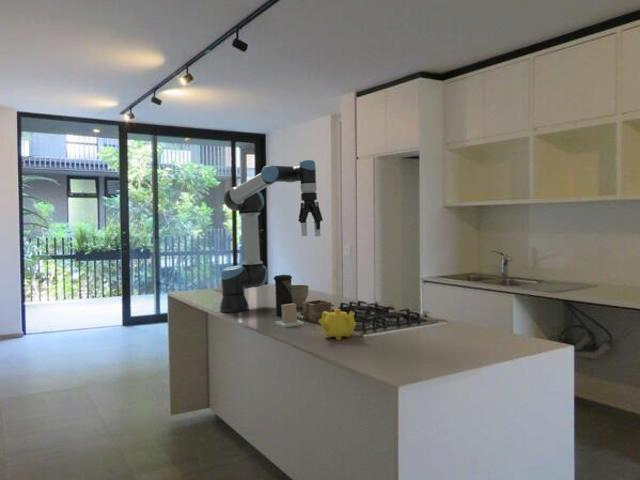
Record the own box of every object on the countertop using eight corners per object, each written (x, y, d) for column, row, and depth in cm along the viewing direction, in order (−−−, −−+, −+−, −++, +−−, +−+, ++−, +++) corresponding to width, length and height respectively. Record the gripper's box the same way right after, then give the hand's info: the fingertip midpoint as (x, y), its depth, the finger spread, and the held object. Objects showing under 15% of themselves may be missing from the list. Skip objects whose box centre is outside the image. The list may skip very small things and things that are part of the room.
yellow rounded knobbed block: (339, 329, 225) (338, 303, 225) (371, 334, 213) (370, 307, 212) (304, 338, 211) (303, 311, 211) (337, 345, 199) (335, 315, 198)
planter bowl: (296, 303, 297) (295, 283, 297) (315, 306, 286) (314, 285, 285) (273, 307, 287) (272, 287, 286) (292, 310, 275) (291, 289, 274)
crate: (303, 319, 251) (302, 302, 251) (321, 316, 256) (320, 299, 256) (313, 322, 243) (312, 304, 242) (332, 319, 248) (331, 302, 247)
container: (293, 316, 260) (291, 275, 259) (274, 316, 260) (272, 276, 259) (294, 312, 269) (292, 273, 268) (276, 313, 269) (274, 274, 268)
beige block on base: (275, 324, 244) (274, 304, 243) (295, 321, 248) (294, 301, 248) (283, 327, 235) (282, 307, 234) (304, 324, 239) (303, 304, 239)
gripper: (290, 194, 266) (292, 236, 267) (314, 191, 245) (316, 236, 246) (303, 193, 270) (305, 235, 271) (328, 190, 248) (330, 235, 249)
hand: (310, 236), depth 258 cm, fingers open, 13 cm apart
